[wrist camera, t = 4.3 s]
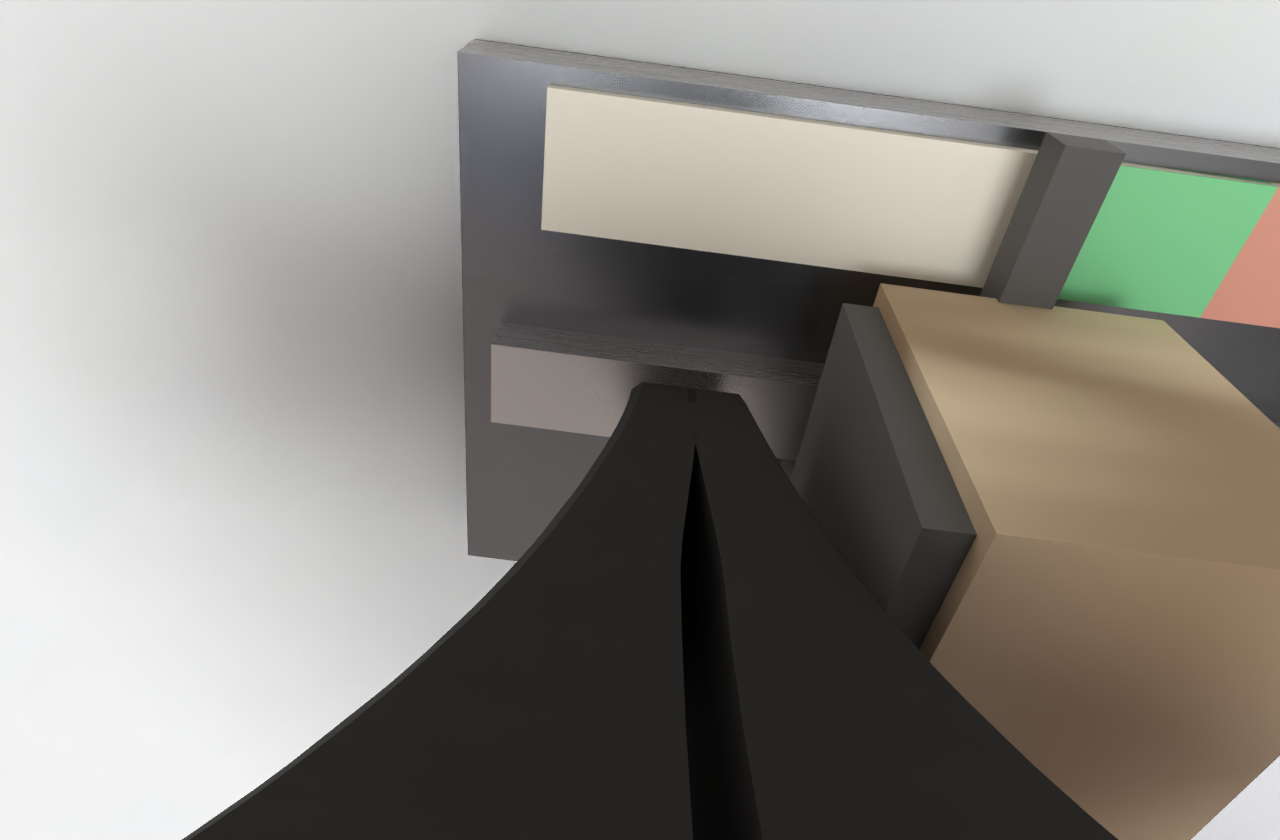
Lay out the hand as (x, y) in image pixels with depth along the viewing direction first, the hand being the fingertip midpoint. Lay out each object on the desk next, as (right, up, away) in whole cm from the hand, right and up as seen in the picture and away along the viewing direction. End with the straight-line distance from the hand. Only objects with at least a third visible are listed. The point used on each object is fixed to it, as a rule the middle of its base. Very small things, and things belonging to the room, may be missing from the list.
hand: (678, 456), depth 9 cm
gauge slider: (+3, +1, 0) cm, 4 cm away
